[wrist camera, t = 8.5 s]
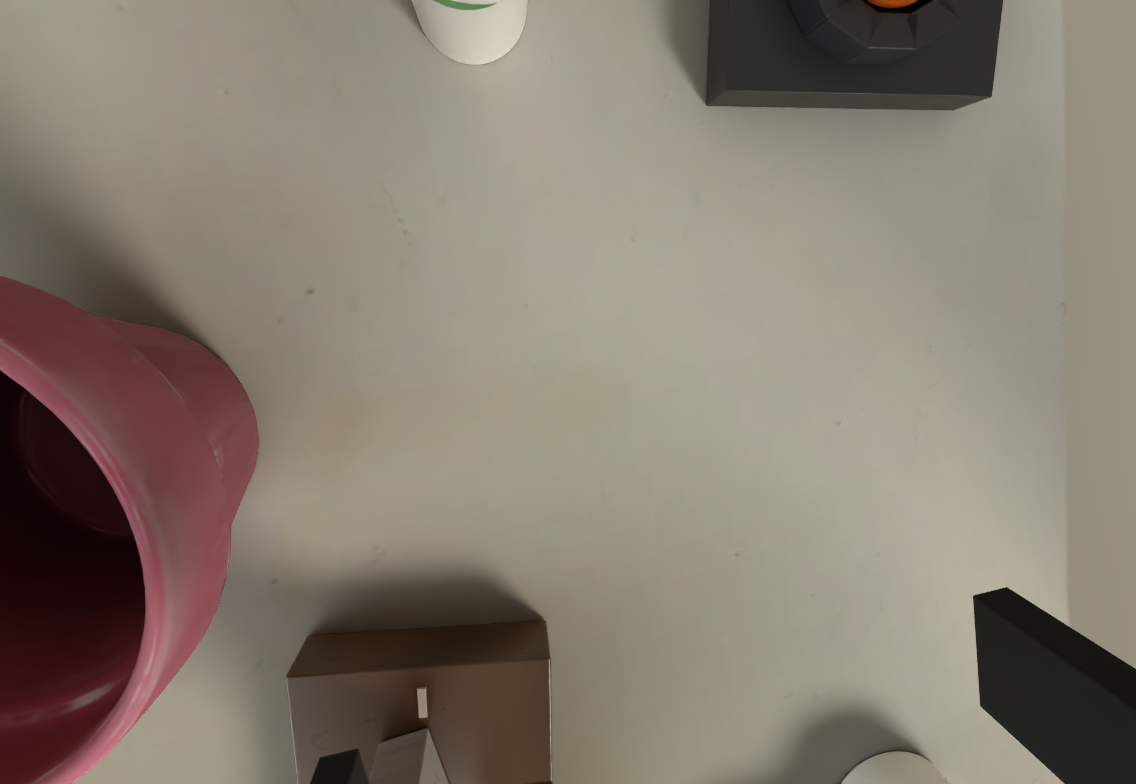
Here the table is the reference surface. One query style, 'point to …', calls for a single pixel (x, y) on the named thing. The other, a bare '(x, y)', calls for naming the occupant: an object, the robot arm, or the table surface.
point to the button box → (852, 53)
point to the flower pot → (105, 522)
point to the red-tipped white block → (408, 761)
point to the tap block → (429, 698)
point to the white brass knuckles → (895, 770)
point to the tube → (472, 27)
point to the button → (892, 3)
